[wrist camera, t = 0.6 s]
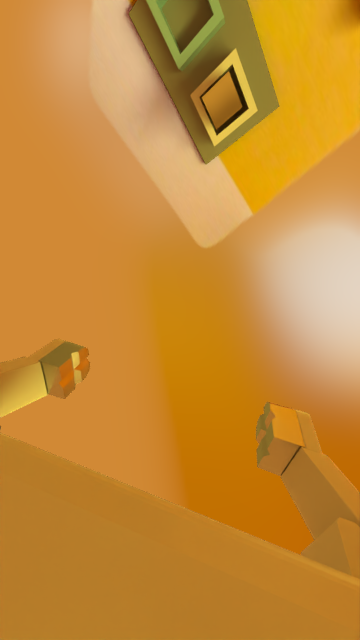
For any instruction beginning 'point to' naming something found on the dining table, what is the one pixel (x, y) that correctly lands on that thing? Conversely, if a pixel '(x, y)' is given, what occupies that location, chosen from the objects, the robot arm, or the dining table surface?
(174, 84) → the caddy
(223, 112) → the plug
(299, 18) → the dining table surface
